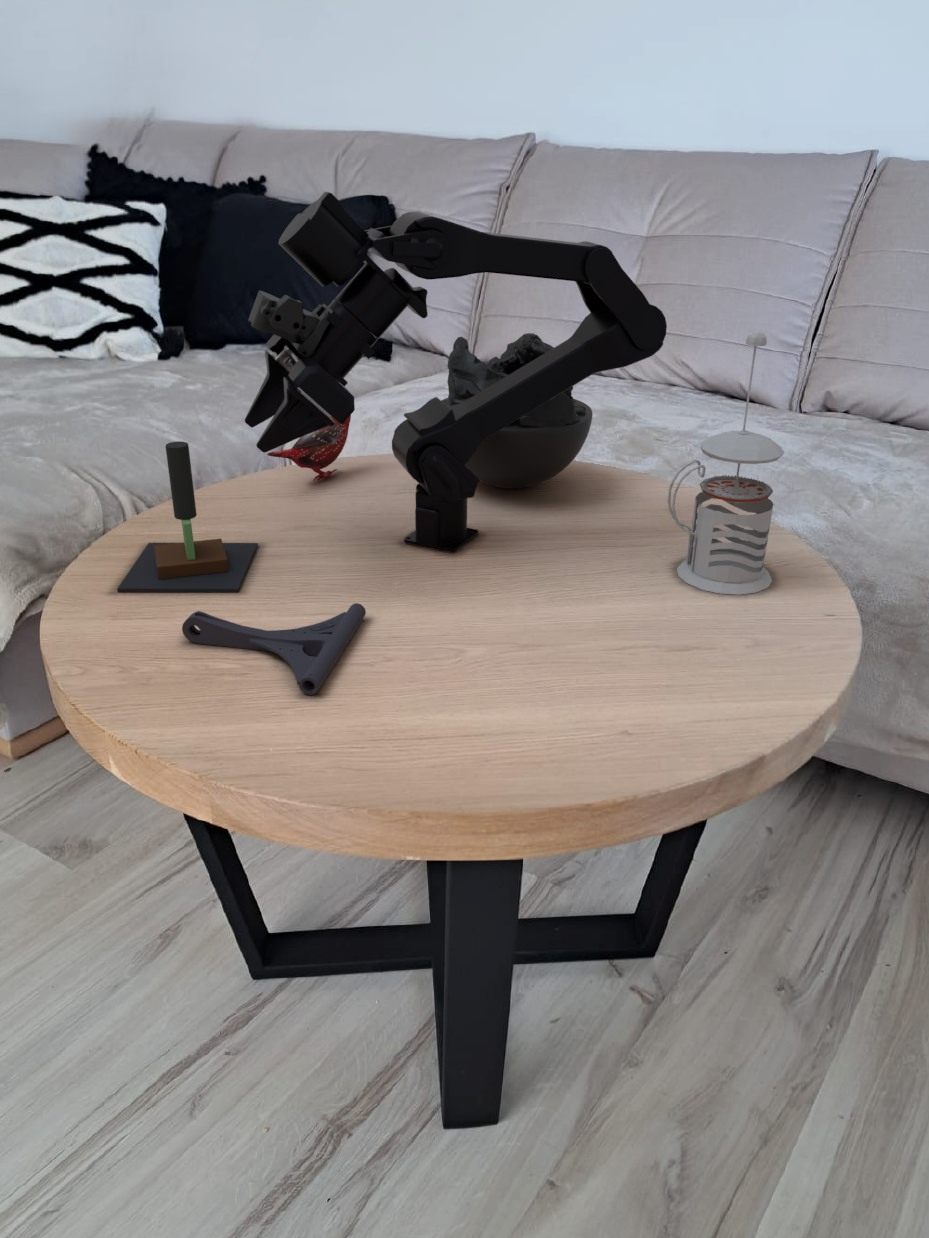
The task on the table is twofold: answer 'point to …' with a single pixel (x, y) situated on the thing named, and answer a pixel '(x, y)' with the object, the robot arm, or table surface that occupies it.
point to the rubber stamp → (186, 525)
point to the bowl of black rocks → (533, 439)
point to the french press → (730, 512)
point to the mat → (146, 576)
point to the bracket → (284, 642)
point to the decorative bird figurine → (318, 448)
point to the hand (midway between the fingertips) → (253, 436)
